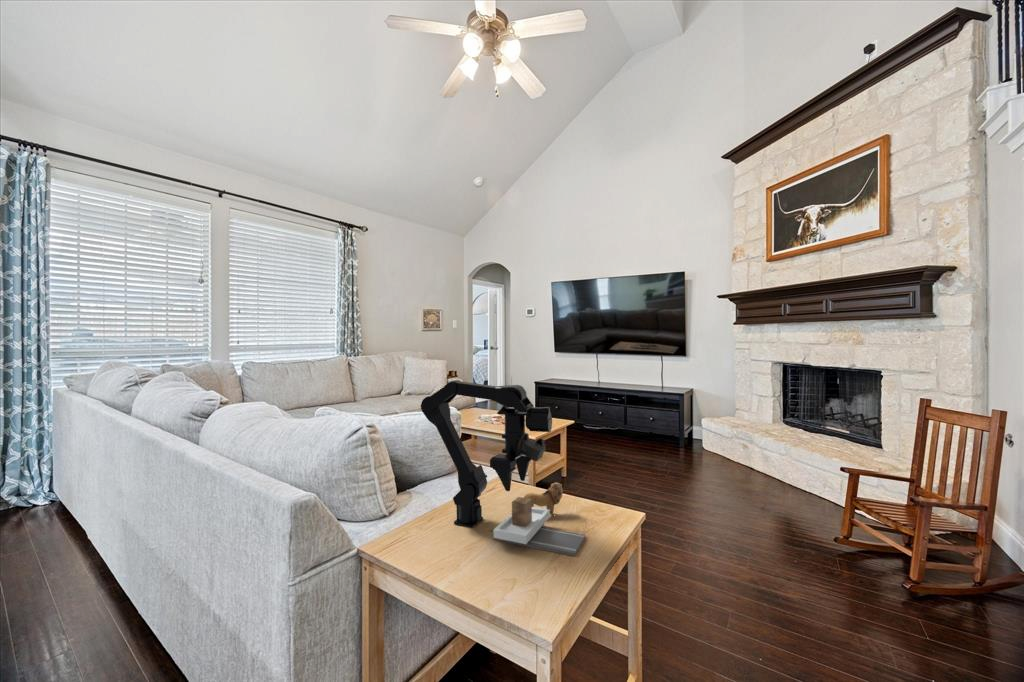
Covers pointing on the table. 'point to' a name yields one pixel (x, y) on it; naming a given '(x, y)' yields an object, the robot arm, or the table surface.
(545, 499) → the lion figurine
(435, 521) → the table surface
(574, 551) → the track mat
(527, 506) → the brown wooden block
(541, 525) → the white rimmed tray
